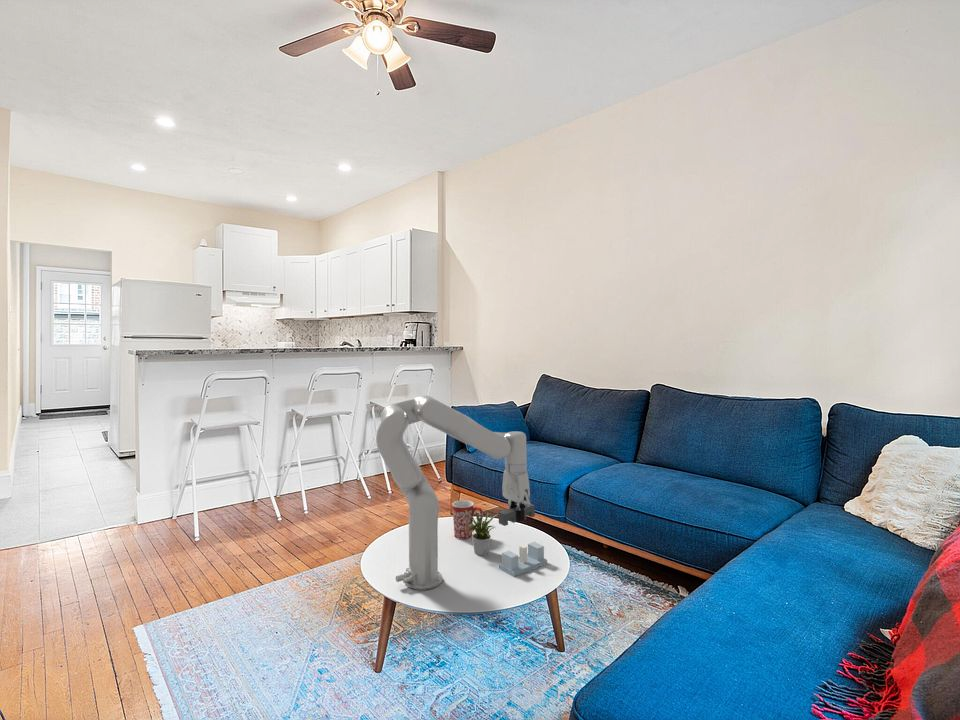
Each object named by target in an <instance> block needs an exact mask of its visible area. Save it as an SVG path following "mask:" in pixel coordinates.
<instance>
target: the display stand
mask: <svg viewBox="0 0 960 720" xmlns="http://www.w3.org/2000/svg"><path fill="white" fill-rule="evenodd" d="M518 549H519V551H518V552H519V555H518V554H517V553H515V552H512V551H511V550H506V551H502V552H501V562H500V563H498V569H499V570H501V571H503V572H504V573H506V574H508V575H509V576H511V577H516V576H520V575H522V574H524V573H527V572H530V571H532V570H535V569H537V567H538V568H540V567H542V566H541V565H543V566H545V565H547V564H548V559H547V558H545V554H544V553H545V546H544V545H542V544H540V543H537V542H536V541H532V542H530V543H527V546H526V545H524V544H523V545H519V548H518ZM546 563H547V564H546ZM544 564H545V565H544ZM539 566H540V567H539ZM534 568H535V569H534Z"/></svg>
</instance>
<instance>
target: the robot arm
mask: <svg viewBox="0 0 960 720" xmlns="http://www.w3.org/2000/svg"><path fill="white" fill-rule="evenodd" d="M418 422H422V423H424V424H426V425H429V426H430V427H432V428H433V429H436V430H438V431H440V432H442V433H444V434H445V435H448V436H450V437H451V438H453V439H455V440H458V441H459V442H461V443H463V444H465V445H468V446H469V447H470V446H471V447H472V448H474V449H475V450H477V451H479V452H482V453H484V454H485V455H487V456H490V457H491V458H493V459H496V460H503V459H504V466H505V467H504V468H505V469H504V471H503V475H502V476H503V477H502V489H501V490H502V496H503V498H505V499H506V501H507V506H508V508H509V509H510V508H514V507H517V508H518V510H516V512H517V516H516V522H518V523H519V522H522V521H524V520H526V519H525V515H524V509H526V507H527V506H528V505H530V504H532V503H531V501H530V496H531V492H530V479H529V473H528V469H527V468H528V467H527V464H528V462H527V460H528V458H527V435H526V433H525V432H523V431H517V430H516V431H508V432H502V431H501V432H500V431H492V430H490V429H488V428H486V427H485V426H483V425H481V424H480V423H478V422H476V421H475V420H474V419H473V418H471V417H469V416H468V415H466V414H464V413H462V412H460V411H459V410H456V409H455V408H452V407H451V406H449V405H446V404H445V403H443V402H442V401H440V400H437V399H435V398H433V397H432V396H430V395H420V396H417V397H413V398H410V399H406V400H402V401H398V402H395V403H394V402H393V403H391V404H389V405H387V406H385V407H384V408H383V410H382V411H381V413H380V424H379V426H378V429H377V432H376V435H375V436H376V438H375V442H376V448H377V450H378V452H379V454H380V455H381V457H382V460H383V461H384V463H385V465H386V467H387V469H388V471H389V472H390V475H391V477H392V479H393V481H394V482H395V484H396V485H397V487H398V488H399V490H400V492H401V493H402V494H403V496H404V498H405V499H406V502H407V505H408V511H409V513H408V515H409V517H408V518H409V519H408V568H406V569H405V572H404V573H403V574H398V575H396V576H395V581H396V583H399V582H403V584H405V586H407V587H408V588H410V589H412V588H413V590H419V591H420V590H421V591H424V590H425V591H426V590H430V589H434V588H436V587H438V586H439V585H440V584H441V583H442V582H443V574H441V572H440V571H438V570H439V569H438V568H439V567H438V563H439V562H438V561H439V559H438V558H439V557H438V552H439V550H438V547H439V545H438V537H439V536H438V531H439V530H438V526H439V511H440V509H439V508H440V504H439V499H438V496H437V493H436V492H435V490H434V489H433V487H432V486H431V484H430V482H429V481H428V479H427V477H426V475H425V474H424V472H423V470H422V469H421V466H420V464H419V463H418V461H417V460H416V458H414V457H413V455H412V453H411V452H410V451H409V448H408V446H407V445H406V443H405V440H404V435H405V431H406V430H407V429H408V426H409V425H411V424H415V423H418Z"/></svg>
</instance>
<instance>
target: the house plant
mask: <svg viewBox="0 0 960 720" xmlns="http://www.w3.org/2000/svg"><path fill="white" fill-rule="evenodd" d="M467 512H468V511H467ZM468 513H469V514H470V515H471V517H472V519H473V520H472V519H471V518H470V519H471V520H472V521H473V523H472V522H471V521H470V520H469V521H470V522H471V523H472V524H469V526H471V527H473V528H474V530H470V531H469V533H471V532H472V536H471V538H472V545H473V552H474V554H475V555H478V556H485V555H487V554H489V549H490V542H491V534H490V531H491V530H493V529H496V526H494V525H489V524H490V523H491V521H493V519H494V518H495V517H496V516H499V513H497V514H495V515H493V516H492V517H490V519H489V520H488V518H489V512H487V514H485V515H484V514H483V513H484V512H483V513H482V514H483V516H482V517H481V521H480V516H479V514H478V513H477V510H476V511H474V514H475V516H476V520H477V521H476V520H475V518H474V515H473V516H472V514H471V513H470V512H468ZM484 516H485V520H484V521H483V518H484ZM463 518H468V517H463ZM475 525H476V526H475ZM477 525H478V526H477ZM465 529H468V528H465ZM474 531H475V532H474Z"/></svg>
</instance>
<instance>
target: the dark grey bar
mask: <svg viewBox="0 0 960 720" xmlns="http://www.w3.org/2000/svg"><path fill="white" fill-rule="evenodd" d="M535 509H536V507H535V504H532V503H531V504H530V505H528V506H527V507H526V509H524V515H525V519H524V520H527V517H530V518H534V517H535V516H536V513H535ZM516 510H518V508H517V507H514V508H510V507H509V508H507V509H504V510H502V511H498V524H499V525H501V526H504V527H505V526H508V525H509V522H510V523H513V524H515V523H517V517H516V516H517V512H516Z"/></svg>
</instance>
